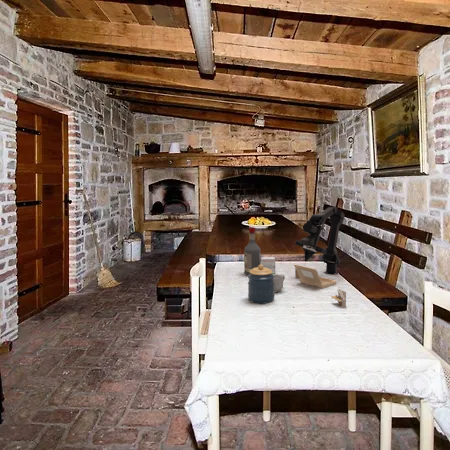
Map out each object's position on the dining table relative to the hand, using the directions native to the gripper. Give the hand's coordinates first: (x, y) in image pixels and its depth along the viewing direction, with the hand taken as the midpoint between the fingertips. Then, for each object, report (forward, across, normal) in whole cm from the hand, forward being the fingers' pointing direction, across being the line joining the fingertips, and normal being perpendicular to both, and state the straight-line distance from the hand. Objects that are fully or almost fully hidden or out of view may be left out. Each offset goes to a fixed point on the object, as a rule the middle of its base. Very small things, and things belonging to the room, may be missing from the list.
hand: (305, 261), depth 197 cm
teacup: (+20, +1, -20) cm, 28 cm away
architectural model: (+14, +37, -18) cm, 43 cm away
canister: (+24, +6, -36) cm, 44 cm away
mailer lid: (+6, +8, -6) cm, 12 cm away
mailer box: (+10, +9, +4) cm, 14 cm away
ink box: (+17, -20, -3) cm, 26 cm away
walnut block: (+11, -4, +7) cm, 14 cm away
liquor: (+19, -30, -6) cm, 36 cm away
